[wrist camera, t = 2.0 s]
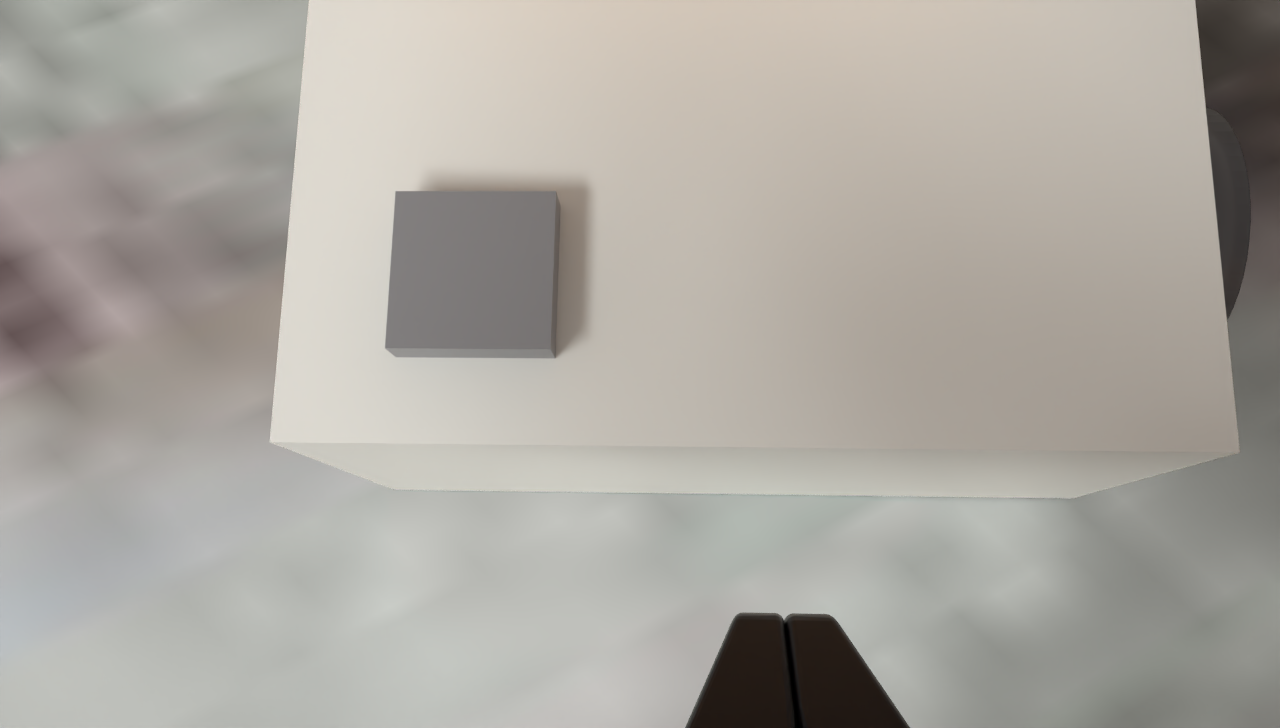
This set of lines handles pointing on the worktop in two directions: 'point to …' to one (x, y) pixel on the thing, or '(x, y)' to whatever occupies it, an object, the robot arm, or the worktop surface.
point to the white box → (760, 247)
